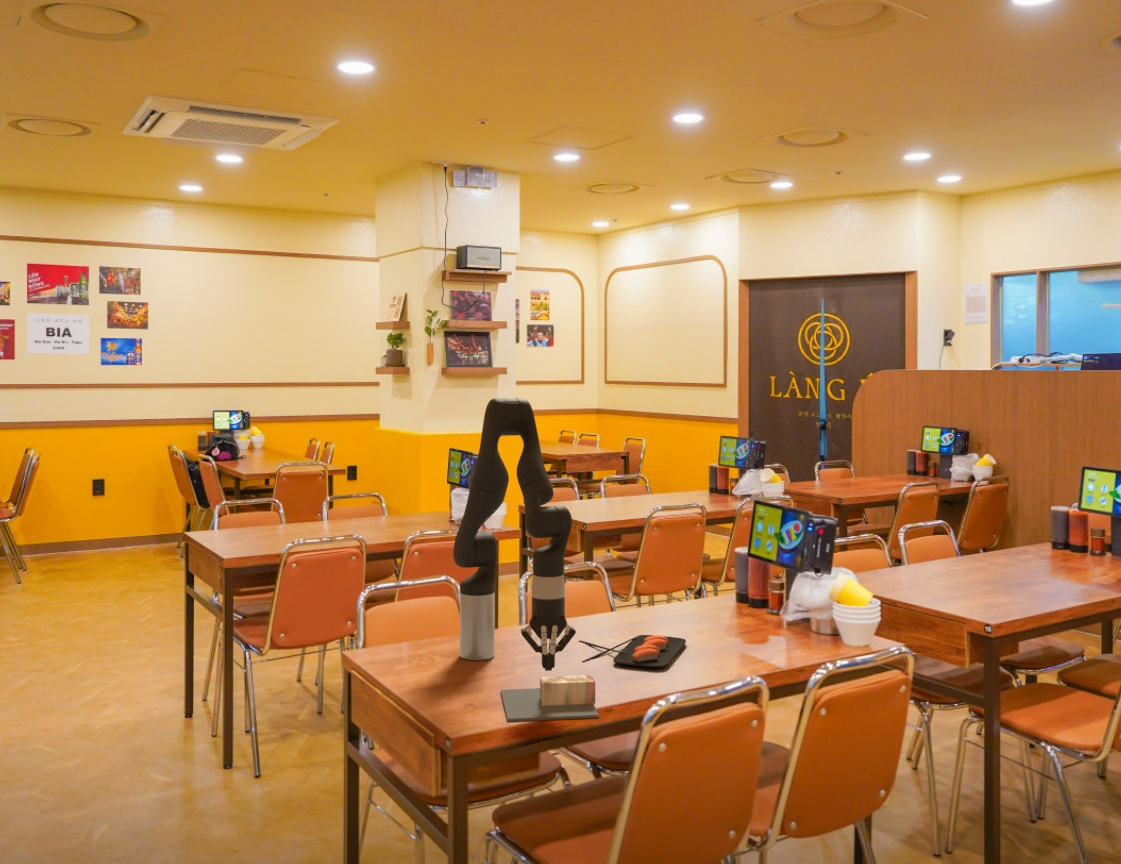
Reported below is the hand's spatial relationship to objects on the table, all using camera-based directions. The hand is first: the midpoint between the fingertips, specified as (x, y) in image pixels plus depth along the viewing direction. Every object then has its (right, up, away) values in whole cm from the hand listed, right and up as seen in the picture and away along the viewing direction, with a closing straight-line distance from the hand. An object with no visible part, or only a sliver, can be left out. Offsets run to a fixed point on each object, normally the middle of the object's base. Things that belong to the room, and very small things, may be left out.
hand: (548, 669), depth 222 cm
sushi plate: (+20, -7, +44) cm, 49 cm away
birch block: (-1, -5, 0) cm, 5 cm away
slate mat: (0, -8, 0) cm, 8 cm away
